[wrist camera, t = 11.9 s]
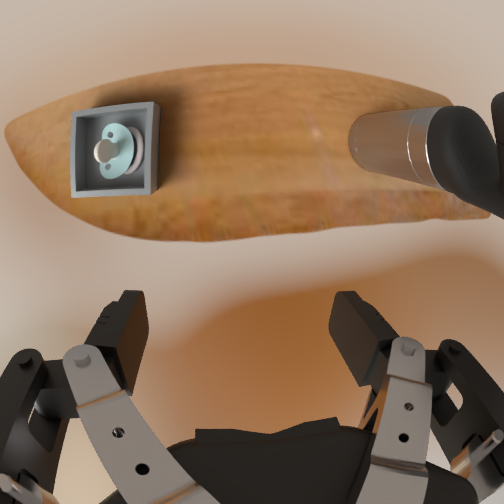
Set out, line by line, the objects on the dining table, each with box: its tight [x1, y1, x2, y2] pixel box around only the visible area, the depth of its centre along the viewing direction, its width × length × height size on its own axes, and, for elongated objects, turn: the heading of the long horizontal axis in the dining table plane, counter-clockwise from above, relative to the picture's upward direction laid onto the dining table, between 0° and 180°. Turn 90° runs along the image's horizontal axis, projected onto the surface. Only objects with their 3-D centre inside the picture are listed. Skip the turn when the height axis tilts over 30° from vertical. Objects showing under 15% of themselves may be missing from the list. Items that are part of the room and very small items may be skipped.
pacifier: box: [94, 123, 144, 179], centre depth 29 cm, size 7×6×6 cm
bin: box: [70, 102, 161, 198], centre depth 30 cm, size 12×12×4 cm
